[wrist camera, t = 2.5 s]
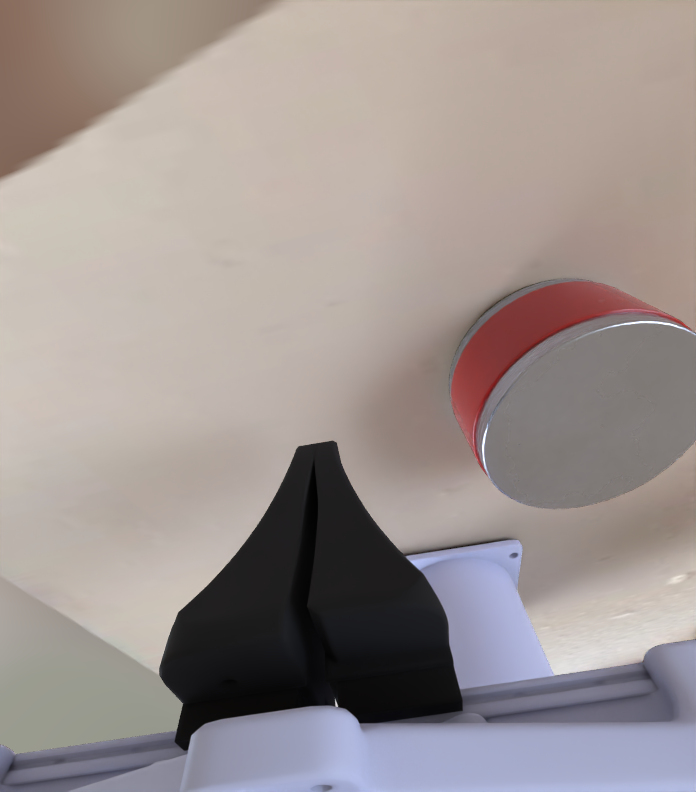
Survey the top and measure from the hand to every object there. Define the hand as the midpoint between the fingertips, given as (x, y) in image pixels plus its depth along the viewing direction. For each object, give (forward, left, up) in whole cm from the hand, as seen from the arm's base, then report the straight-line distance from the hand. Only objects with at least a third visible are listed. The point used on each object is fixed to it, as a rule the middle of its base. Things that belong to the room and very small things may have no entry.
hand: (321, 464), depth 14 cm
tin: (0, -9, -4) cm, 10 cm away
